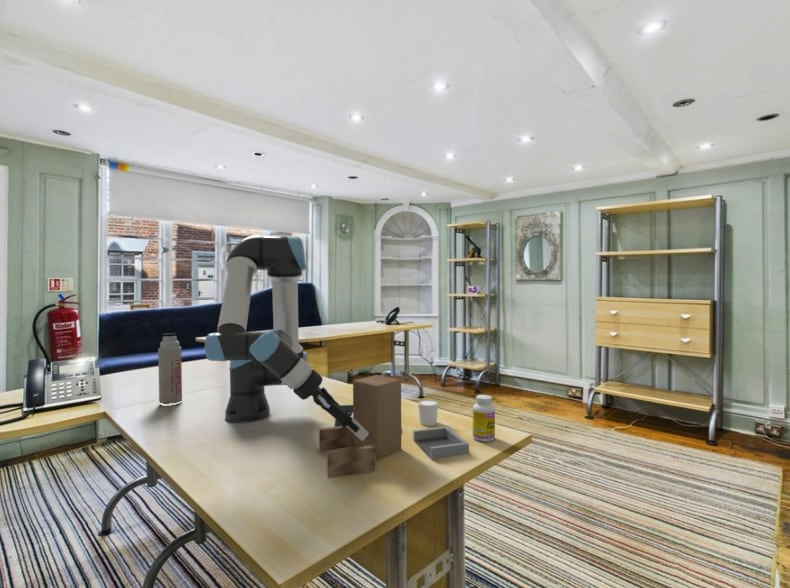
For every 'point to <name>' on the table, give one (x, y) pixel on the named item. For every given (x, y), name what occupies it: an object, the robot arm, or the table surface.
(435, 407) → the white cup
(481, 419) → the supplement bottle
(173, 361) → the thermos bottle
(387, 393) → the wooden block
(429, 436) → the grey shallow rectangular tray
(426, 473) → the table surface
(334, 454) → the parallel wooden walls
